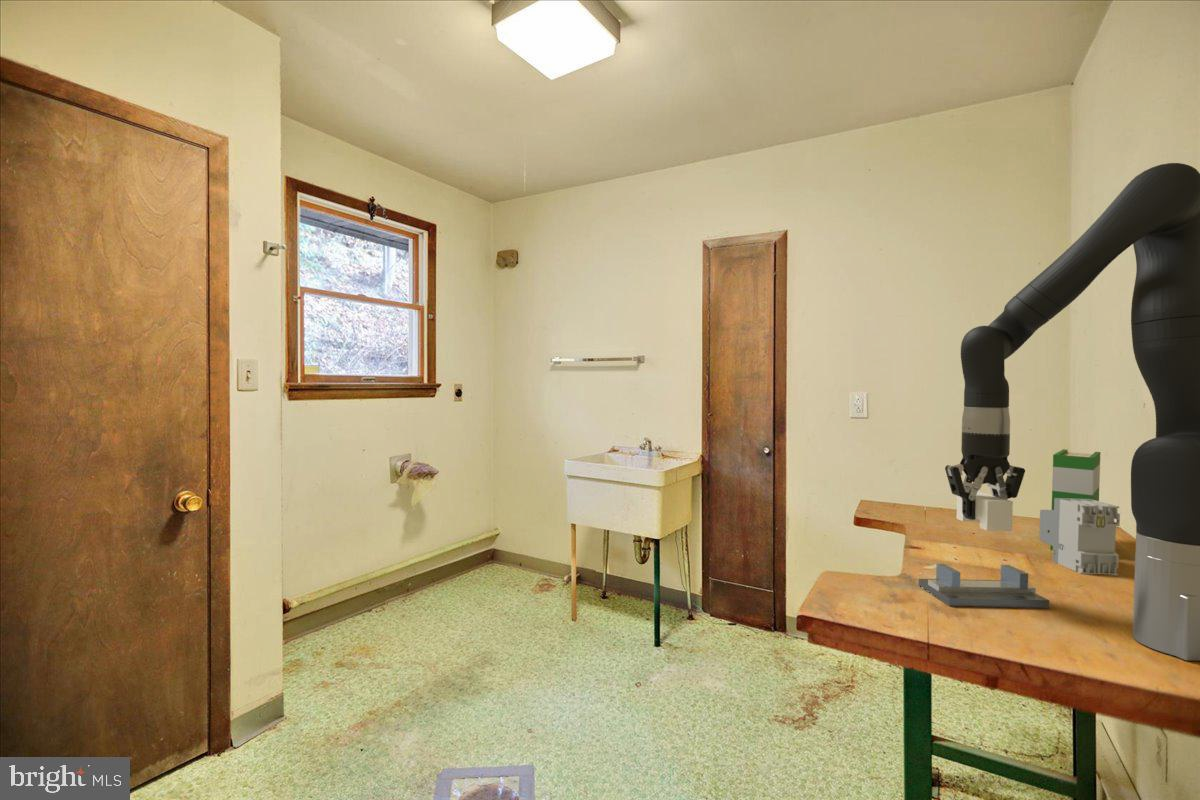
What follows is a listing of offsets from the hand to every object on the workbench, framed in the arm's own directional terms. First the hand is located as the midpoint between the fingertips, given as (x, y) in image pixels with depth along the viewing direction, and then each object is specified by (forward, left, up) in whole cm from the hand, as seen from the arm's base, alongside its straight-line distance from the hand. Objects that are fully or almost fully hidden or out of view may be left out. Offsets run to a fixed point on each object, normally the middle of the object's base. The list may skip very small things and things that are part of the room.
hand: (983, 518), depth 102 cm
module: (0, 0, -1) cm, 1 cm away
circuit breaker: (+21, -35, -15) cm, 43 cm away
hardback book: (+35, -47, -15) cm, 60 cm away
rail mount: (0, 0, -15) cm, 15 cm away
